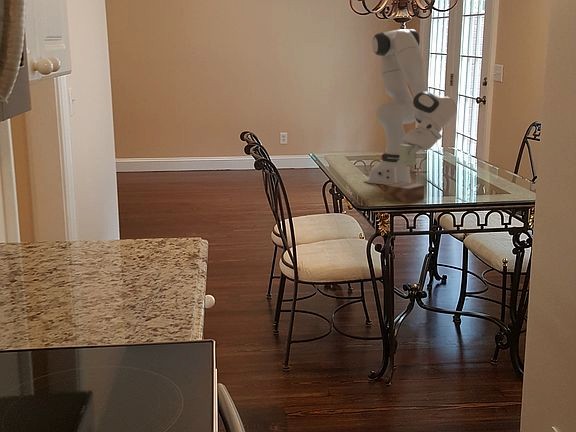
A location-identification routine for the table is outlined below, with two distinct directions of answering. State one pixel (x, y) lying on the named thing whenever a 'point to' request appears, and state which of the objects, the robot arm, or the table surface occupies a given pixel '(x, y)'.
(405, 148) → the sage block
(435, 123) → the robot arm
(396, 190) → the walnut riser
